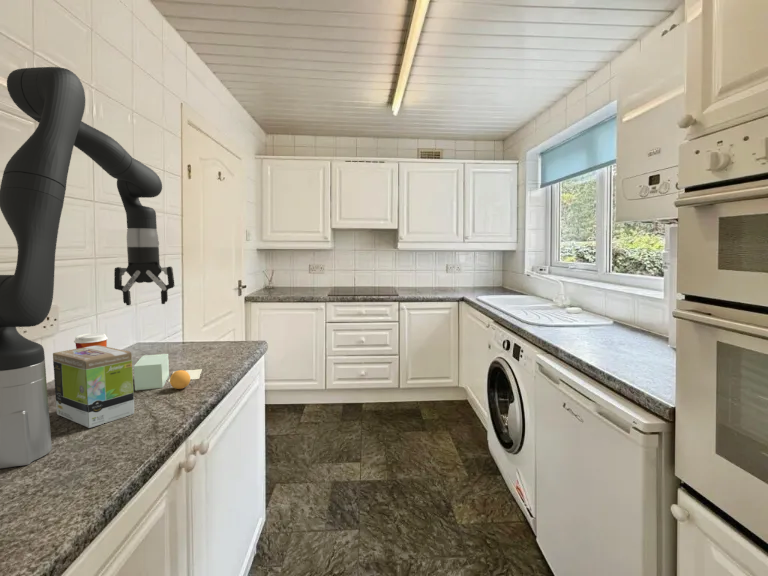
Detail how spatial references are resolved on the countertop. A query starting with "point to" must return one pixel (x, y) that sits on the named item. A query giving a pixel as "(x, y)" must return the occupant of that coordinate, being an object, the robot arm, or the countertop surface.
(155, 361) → the mint green rectangular block
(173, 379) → the ball
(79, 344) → the paper cup
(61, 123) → the robot arm
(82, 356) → the tea box
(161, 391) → the countertop surface
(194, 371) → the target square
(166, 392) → the countertop surface
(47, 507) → the countertop surface
